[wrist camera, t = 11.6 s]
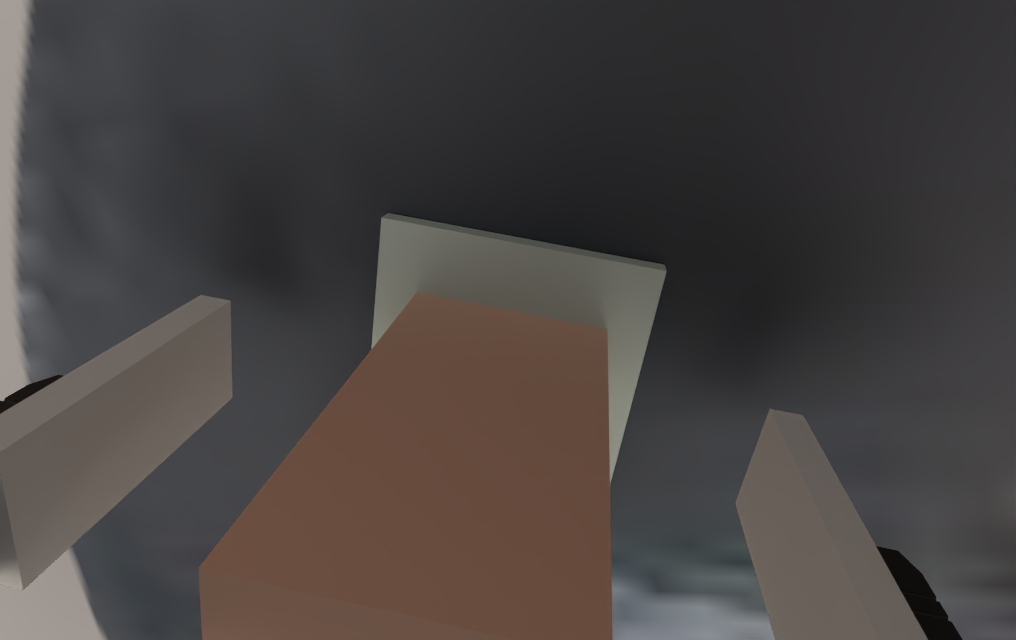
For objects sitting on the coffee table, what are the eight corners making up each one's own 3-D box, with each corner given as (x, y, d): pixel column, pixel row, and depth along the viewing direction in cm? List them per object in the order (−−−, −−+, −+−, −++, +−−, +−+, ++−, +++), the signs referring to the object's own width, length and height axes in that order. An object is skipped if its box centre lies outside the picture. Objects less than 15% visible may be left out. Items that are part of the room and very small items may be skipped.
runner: (388, 212, 19) (381, 217, 18) (664, 264, 18) (666, 271, 17) (338, 833, 30) (333, 847, 30) (504, 875, 30) (502, 890, 29)
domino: (416, 292, 19) (199, 567, 9) (607, 329, 18) (613, 662, 8) (410, 353, 20) (204, 671, 9) (592, 390, 19) (582, 762, 9)
